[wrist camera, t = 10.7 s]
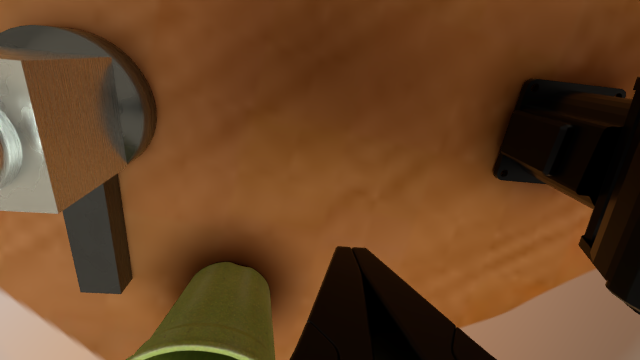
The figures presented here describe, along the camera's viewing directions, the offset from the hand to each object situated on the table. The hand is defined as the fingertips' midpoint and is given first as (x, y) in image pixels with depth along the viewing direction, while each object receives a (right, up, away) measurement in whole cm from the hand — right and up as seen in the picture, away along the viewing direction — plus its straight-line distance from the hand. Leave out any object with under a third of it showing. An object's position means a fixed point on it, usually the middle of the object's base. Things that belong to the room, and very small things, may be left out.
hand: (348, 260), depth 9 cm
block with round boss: (-14, +6, +8) cm, 17 cm away
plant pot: (-8, -6, +15) cm, 18 cm away
